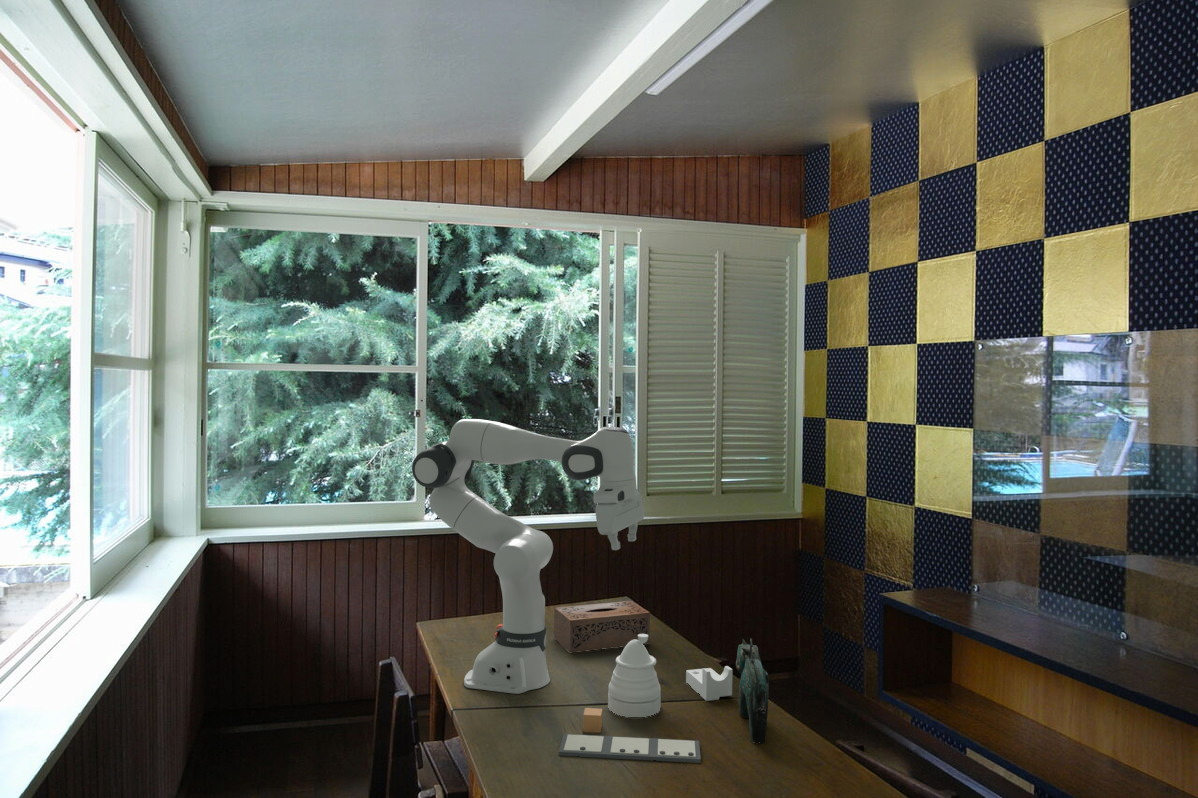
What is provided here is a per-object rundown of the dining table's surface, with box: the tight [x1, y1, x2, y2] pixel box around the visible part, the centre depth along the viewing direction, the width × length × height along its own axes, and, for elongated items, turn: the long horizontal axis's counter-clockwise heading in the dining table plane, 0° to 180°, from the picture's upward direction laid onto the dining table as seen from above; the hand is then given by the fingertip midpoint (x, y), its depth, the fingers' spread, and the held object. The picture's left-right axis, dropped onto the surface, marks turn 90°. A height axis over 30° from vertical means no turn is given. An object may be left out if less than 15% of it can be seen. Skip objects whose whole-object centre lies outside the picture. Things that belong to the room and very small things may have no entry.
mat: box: [558, 733, 702, 764], centre depth 178 cm, size 30×9×1 cm, turn 85°
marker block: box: [582, 707, 603, 734], centre depth 189 cm, size 4×4×4 cm
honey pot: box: [607, 634, 662, 718], centre depth 201 cm, size 13×13×18 cm
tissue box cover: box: [553, 600, 651, 653], centre depth 252 cm, size 26×14×10 cm, turn 112°
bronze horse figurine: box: [735, 637, 770, 744], centre depth 191 cm, size 20×6×20 cm, turn 178°
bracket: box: [685, 665, 733, 702], centre depth 213 cm, size 13×7×8 cm, turn 17°
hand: (624, 545), depth 207 cm, fingers open, 8 cm apart
